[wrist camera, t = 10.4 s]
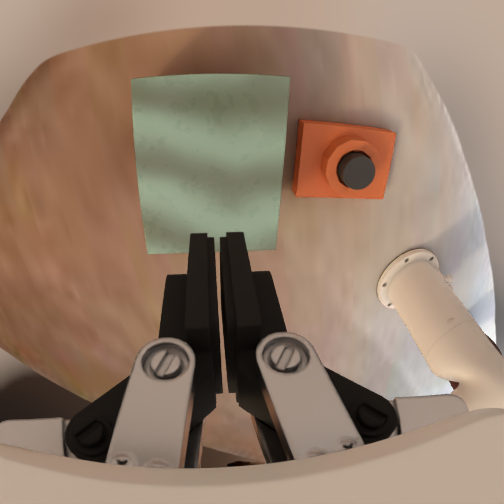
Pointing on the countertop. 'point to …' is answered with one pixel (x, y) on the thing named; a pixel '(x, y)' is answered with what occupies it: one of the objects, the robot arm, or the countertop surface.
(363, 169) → the button
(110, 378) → the countertop surface
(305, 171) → the button block
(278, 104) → the green box lid
